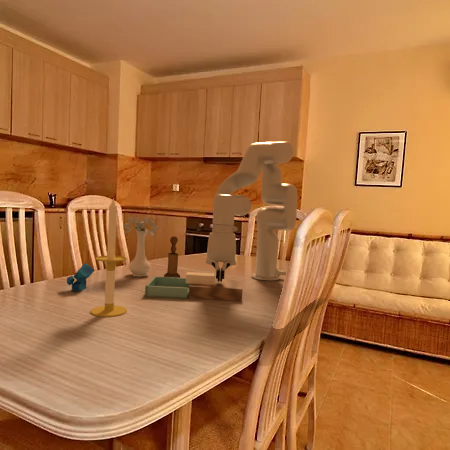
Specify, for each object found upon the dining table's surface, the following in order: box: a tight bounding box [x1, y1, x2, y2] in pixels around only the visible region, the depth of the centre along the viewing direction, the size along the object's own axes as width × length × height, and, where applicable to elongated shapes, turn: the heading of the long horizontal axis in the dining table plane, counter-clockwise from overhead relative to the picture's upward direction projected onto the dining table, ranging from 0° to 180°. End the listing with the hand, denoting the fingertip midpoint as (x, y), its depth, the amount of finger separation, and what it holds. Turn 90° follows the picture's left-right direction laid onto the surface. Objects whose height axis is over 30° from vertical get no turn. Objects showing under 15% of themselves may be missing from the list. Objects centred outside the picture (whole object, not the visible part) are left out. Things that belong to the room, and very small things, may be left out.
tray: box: [144, 276, 190, 299], centre depth 130 cm, size 14×16×4 cm
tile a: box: [200, 272, 216, 285], centre depth 130 cm, size 5×5×3 cm
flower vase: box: [123, 216, 160, 278], centre depth 155 cm, size 13×18×25 cm
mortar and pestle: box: [163, 236, 181, 278], centre depth 148 cm, size 7×6×18 cm
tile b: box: [185, 271, 202, 284], centre depth 130 cm, size 5×5×3 cm
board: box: [188, 278, 244, 302], centre depth 131 cm, size 18×14×4 cm
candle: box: [90, 197, 128, 318], centre depth 103 cm, size 10×10×32 cm
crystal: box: [66, 262, 95, 292], centre depth 127 cm, size 7×9×12 cm
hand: (219, 280), depth 130 cm, fingers closed
